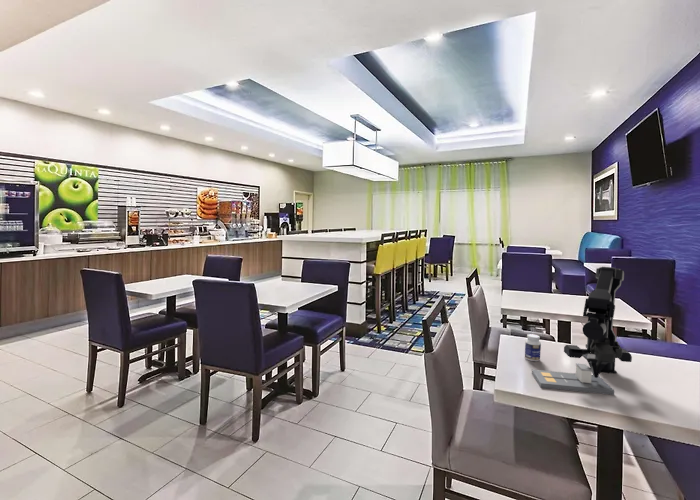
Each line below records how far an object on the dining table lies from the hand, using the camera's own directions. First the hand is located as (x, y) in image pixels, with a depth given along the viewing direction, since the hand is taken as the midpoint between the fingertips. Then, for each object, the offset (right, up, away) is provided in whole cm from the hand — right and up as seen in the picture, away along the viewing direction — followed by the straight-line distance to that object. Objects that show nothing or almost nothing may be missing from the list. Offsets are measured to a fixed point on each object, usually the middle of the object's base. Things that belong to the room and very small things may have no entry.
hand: (595, 377), depth 124 cm
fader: (-4, -1, +1) cm, 4 cm away
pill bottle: (-9, -2, +25) cm, 27 cm away
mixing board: (-7, -3, +2) cm, 8 cm away
